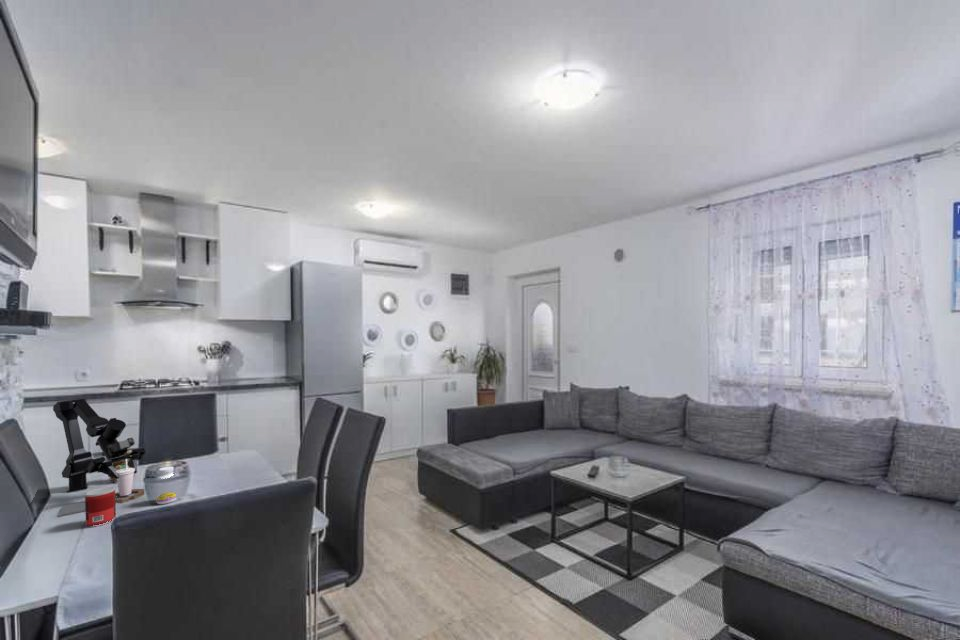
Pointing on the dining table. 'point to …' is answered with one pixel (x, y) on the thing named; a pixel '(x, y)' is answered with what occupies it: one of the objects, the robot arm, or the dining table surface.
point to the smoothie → (125, 480)
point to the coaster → (72, 509)
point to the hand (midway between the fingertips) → (127, 475)
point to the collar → (126, 499)
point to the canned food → (100, 506)
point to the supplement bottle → (166, 497)
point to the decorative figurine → (120, 466)
